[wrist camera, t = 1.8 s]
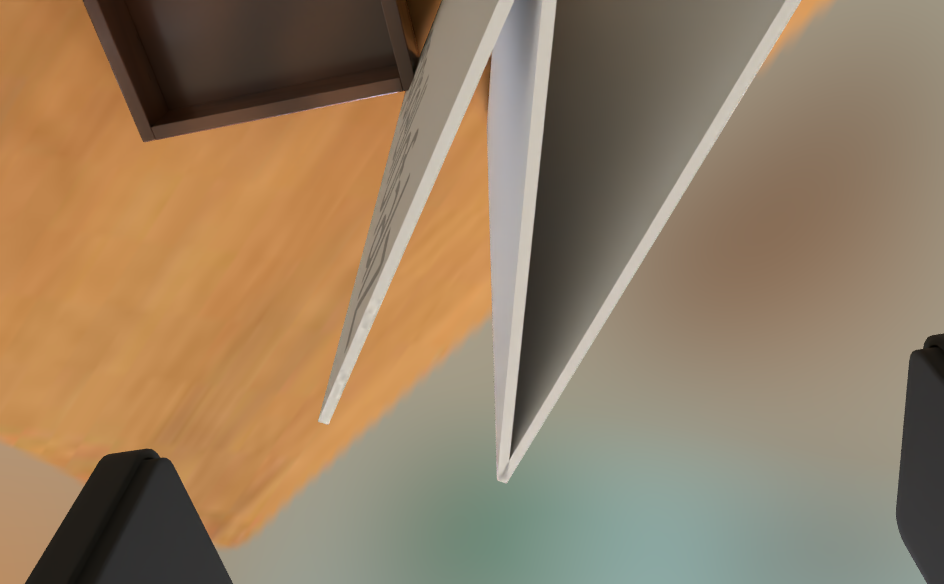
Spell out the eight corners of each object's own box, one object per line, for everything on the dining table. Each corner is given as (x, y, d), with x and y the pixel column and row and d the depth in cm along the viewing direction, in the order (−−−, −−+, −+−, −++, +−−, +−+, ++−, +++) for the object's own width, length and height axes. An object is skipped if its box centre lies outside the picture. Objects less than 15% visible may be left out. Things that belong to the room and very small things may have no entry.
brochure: (506, -164, 41) (555, -133, 15) (603, -115, 42) (806, -8, 16) (405, 92, 47) (317, 421, 22) (491, 128, 49) (506, 483, 23)
